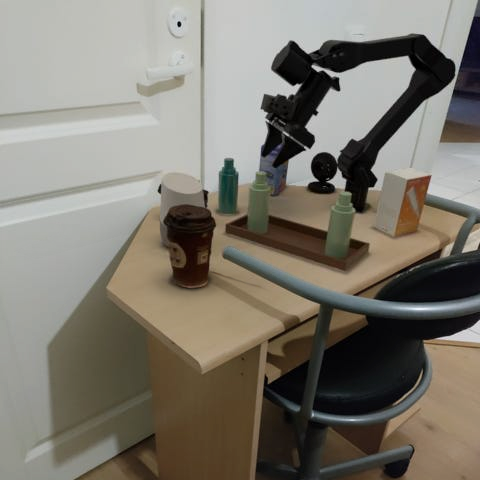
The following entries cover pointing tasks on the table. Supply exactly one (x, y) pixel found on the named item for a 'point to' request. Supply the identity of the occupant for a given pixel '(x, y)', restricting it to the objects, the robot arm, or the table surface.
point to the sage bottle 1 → (259, 204)
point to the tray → (298, 241)
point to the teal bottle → (228, 188)
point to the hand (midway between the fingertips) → (267, 161)
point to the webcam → (323, 172)
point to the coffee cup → (189, 243)
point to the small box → (402, 200)
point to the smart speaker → (178, 195)
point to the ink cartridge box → (274, 171)
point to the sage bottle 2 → (340, 227)
